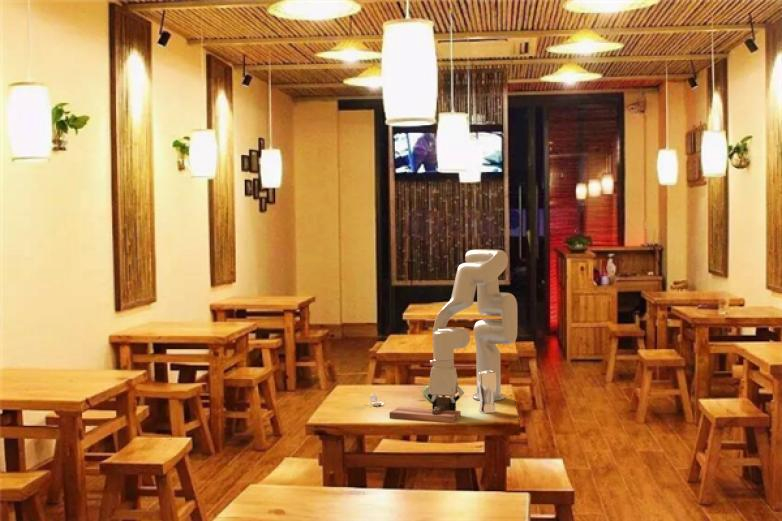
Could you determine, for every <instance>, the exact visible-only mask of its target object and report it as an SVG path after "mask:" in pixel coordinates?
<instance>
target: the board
mask: <svg viewBox="0 0 782 521" xmlns="http://www.w3.org/2000/svg"><path fill="white" fill-rule="evenodd" d="M432 410H433V408H419V407H405V406H403V407H402V406H399V407H396V408H394V409H393V410H391V411H389V419H398V420H399V419H400V420H411V419H412V420H413V421H414V420H415V421H426V422H427V421H429V422H441V423H443V422H444V423H454V422H455V421H456V420H458V419H459V418H460V417H461V414H462V413H461V410H456V411H452V410H443V411H442V412H441V413H439V414H438V415H434V414H432Z"/></svg>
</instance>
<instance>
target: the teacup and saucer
mask: <svg viewBox="0 0 782 521" xmlns="http://www.w3.org/2000/svg"><path fill="white" fill-rule="evenodd" d="M378 399H379V395H378V394H377V393H371V394H370V393H369V402H371V403H370V405H372V407H379V405H380V406H384V405H385V402H382V401H379V400H378ZM381 403H382V404H381Z"/></svg>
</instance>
